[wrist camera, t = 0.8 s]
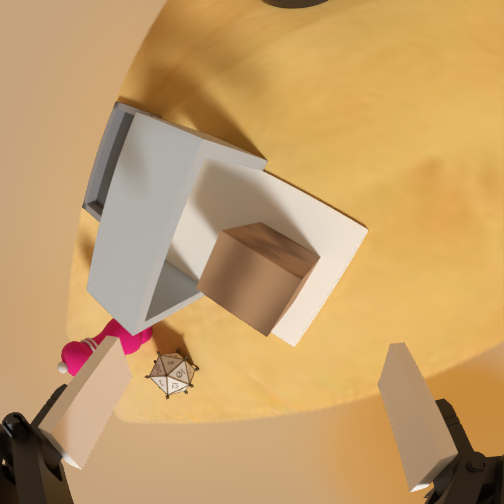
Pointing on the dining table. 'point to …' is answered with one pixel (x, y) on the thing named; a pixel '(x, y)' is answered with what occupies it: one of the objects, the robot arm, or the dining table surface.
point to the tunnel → (201, 225)
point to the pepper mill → (81, 351)
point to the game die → (172, 373)
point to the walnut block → (256, 274)
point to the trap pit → (109, 157)
